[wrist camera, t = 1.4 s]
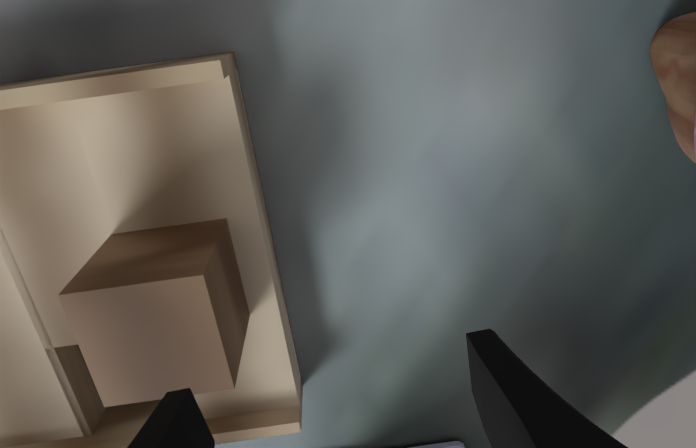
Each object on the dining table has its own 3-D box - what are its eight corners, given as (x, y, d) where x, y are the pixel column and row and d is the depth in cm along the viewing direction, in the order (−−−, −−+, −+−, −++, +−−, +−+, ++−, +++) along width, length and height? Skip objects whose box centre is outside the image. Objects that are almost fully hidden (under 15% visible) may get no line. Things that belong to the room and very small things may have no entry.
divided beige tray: (233, 51, 19) (217, 61, 16) (302, 386, 26) (300, 441, 23) (-281, 122, 19) (-400, 147, 16) (-82, 440, 26) (-138, 502, 23)
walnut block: (226, 218, 20) (203, 274, 16) (249, 315, 22) (234, 388, 18) (111, 234, 20) (57, 295, 16) (144, 330, 22) (104, 407, 18)
